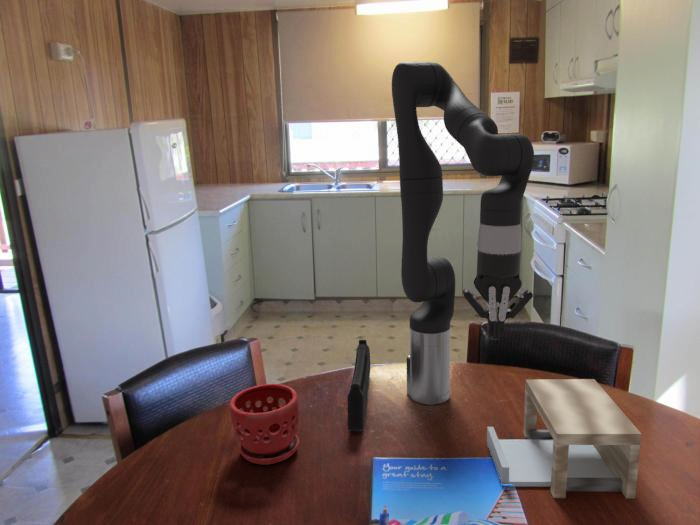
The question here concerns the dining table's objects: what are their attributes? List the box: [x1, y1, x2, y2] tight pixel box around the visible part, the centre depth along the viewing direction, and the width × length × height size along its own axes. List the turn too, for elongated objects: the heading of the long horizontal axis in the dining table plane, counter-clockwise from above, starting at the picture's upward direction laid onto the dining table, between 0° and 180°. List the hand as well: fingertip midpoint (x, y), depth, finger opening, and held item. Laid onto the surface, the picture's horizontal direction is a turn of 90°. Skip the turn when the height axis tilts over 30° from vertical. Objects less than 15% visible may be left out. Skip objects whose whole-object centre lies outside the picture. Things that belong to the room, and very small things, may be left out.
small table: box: [522, 378, 642, 500], centre depth 105 cm, size 14×21×12 cm, turn 177°
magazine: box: [347, 339, 371, 432], centre depth 131 cm, size 17×3×30 cm
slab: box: [486, 426, 615, 488], centre depth 106 cm, size 20×14×4 cm
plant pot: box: [229, 383, 300, 466], centre depth 112 cm, size 13×13×12 cm
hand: (495, 338), depth 107 cm, fingers closed
